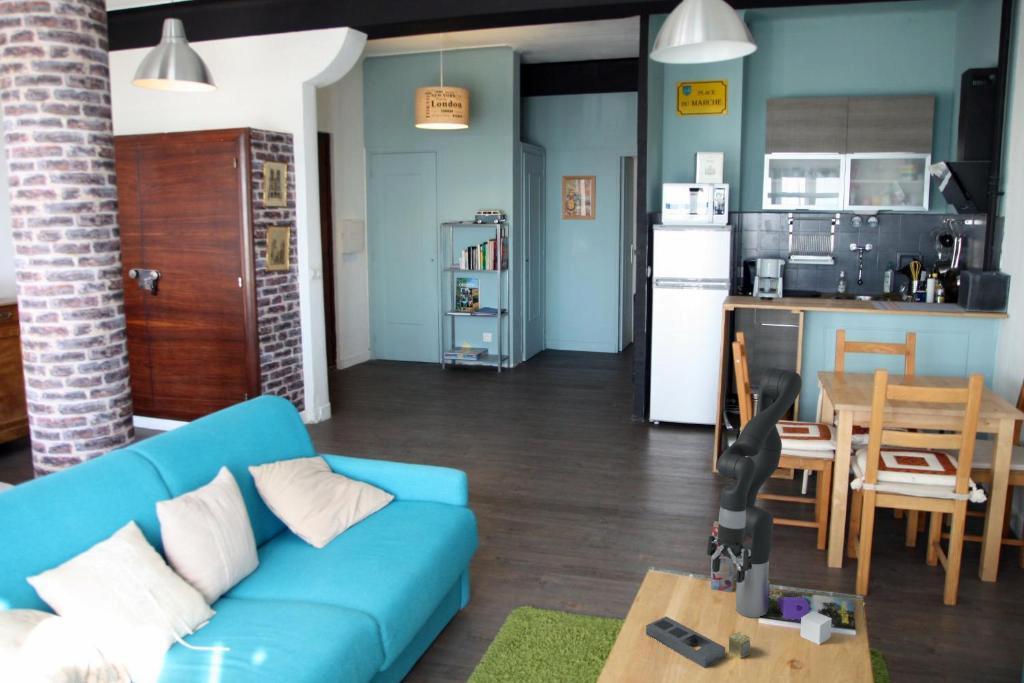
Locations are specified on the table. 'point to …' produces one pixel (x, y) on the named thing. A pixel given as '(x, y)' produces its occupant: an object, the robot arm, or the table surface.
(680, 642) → the silver slotted board
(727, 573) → the juice carton
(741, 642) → the brushed gold cube
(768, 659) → the table surface
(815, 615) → the light grey cube
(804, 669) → the table surface
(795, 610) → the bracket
